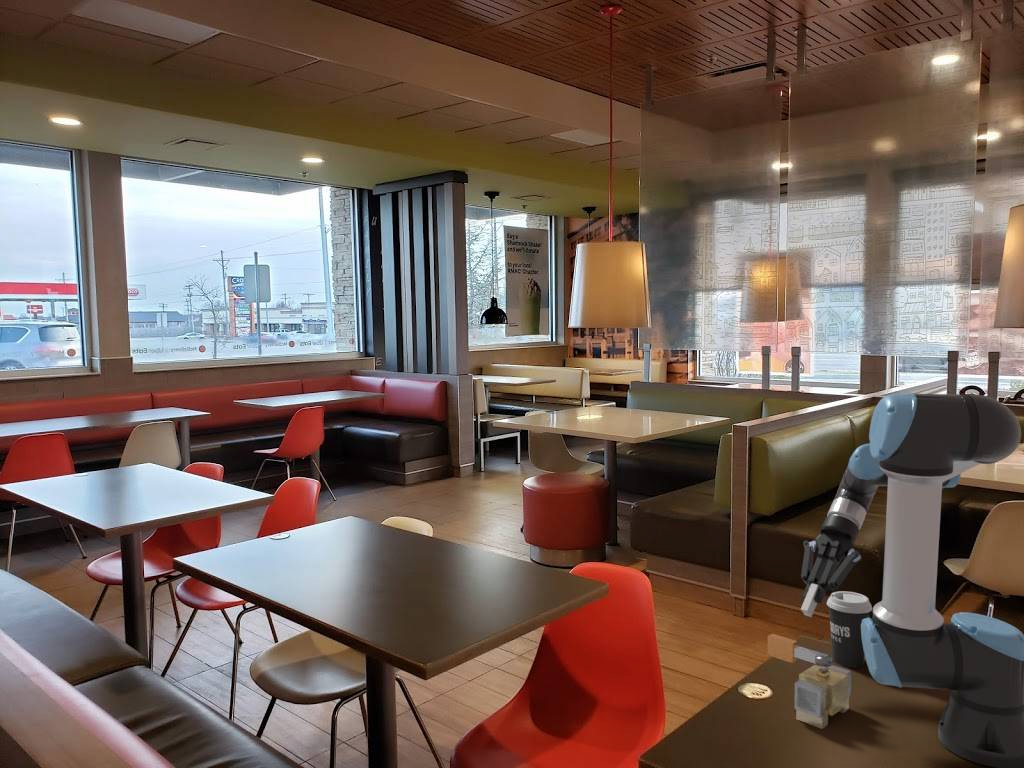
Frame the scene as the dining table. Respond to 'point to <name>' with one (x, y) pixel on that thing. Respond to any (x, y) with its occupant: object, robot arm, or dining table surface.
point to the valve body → (822, 694)
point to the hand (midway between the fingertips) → (806, 613)
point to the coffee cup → (848, 626)
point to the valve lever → (796, 652)
